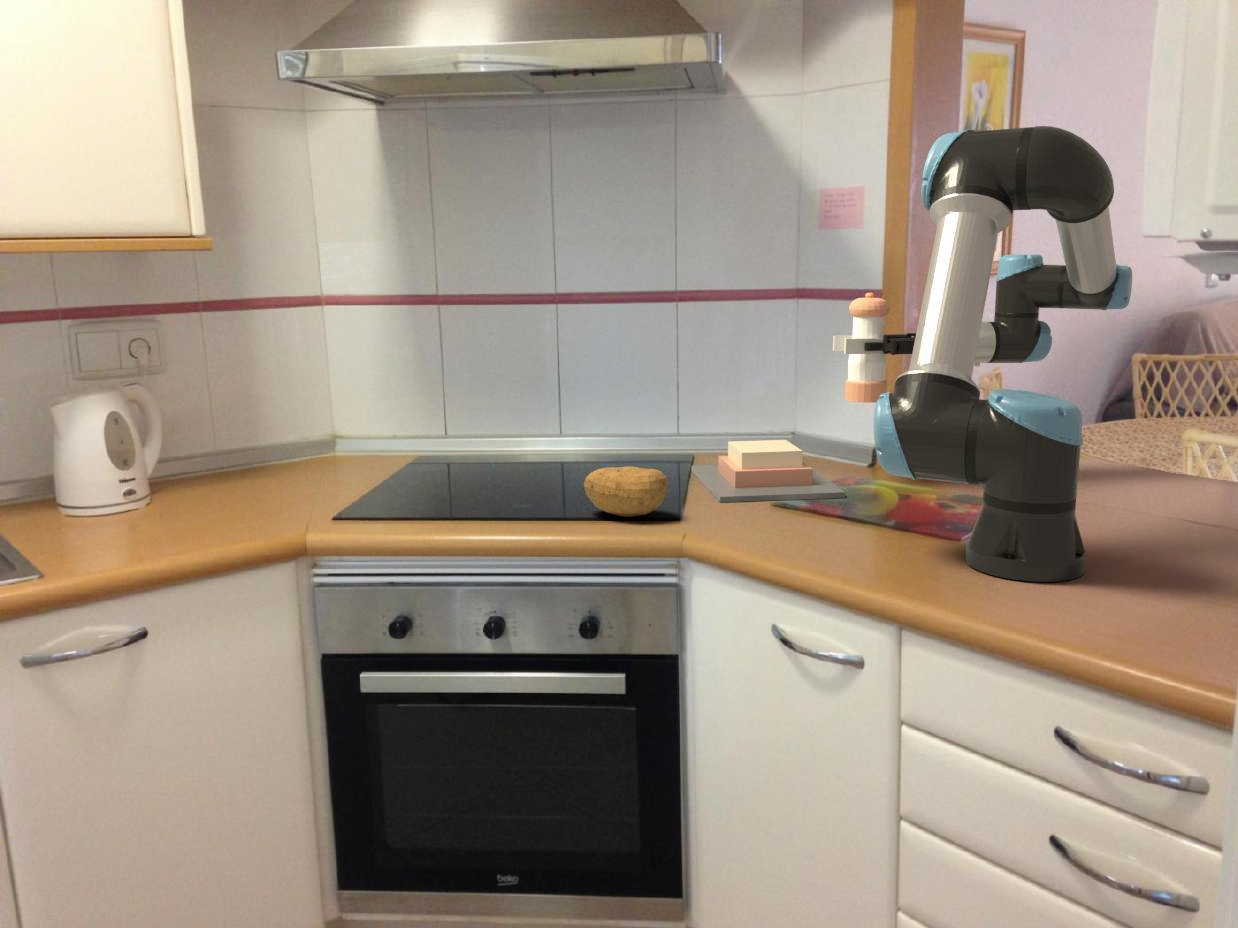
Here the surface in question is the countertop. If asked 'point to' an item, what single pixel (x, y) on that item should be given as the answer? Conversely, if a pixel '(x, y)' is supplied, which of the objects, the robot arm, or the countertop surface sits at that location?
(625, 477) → the potato
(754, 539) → the countertop surface
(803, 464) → the stacked blocks on tray
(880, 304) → the pepper shaker
